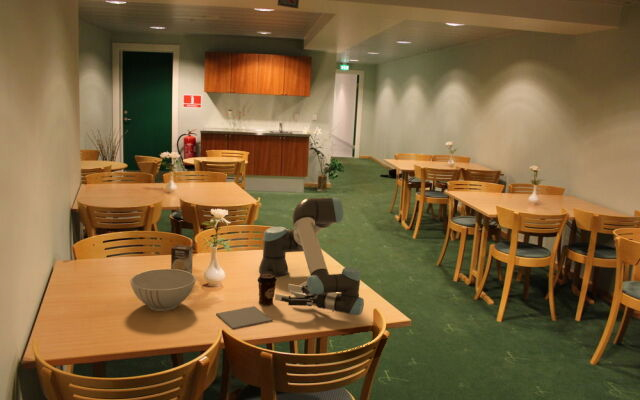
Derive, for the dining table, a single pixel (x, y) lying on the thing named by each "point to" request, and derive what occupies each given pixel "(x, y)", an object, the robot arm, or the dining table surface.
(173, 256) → the coffee box
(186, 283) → the decorative bowl
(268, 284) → the coffee cup
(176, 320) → the dining table surface
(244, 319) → the rubber mat
